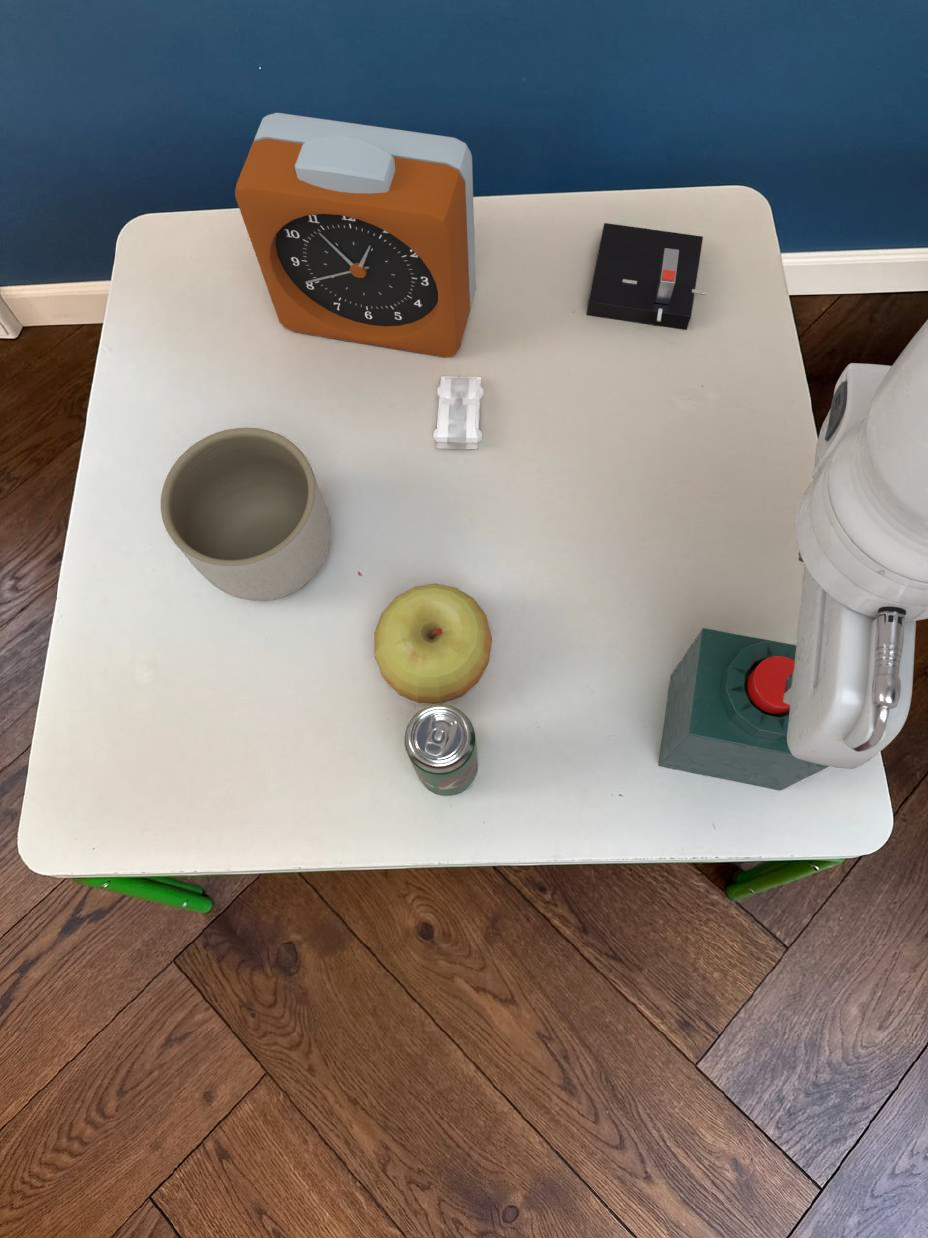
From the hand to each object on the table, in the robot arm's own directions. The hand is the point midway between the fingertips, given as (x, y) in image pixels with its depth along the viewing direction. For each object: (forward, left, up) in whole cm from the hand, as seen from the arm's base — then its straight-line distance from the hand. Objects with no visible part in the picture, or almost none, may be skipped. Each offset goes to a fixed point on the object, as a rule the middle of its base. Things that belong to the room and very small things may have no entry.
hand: (804, 622), depth 54 cm
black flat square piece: (+13, -42, -21) cm, 49 cm away
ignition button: (0, +2, -7) cm, 8 cm away
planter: (+42, -6, -21) cm, 47 cm away
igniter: (0, +2, -21) cm, 21 cm away
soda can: (+22, +10, -21) cm, 32 cm away
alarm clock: (+38, -34, -21) cm, 55 cm away
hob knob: (+11, -40, -19) cm, 46 cm away
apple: (+25, +1, -21) cm, 32 cm away
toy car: (+28, -23, -21) cm, 42 cm away
